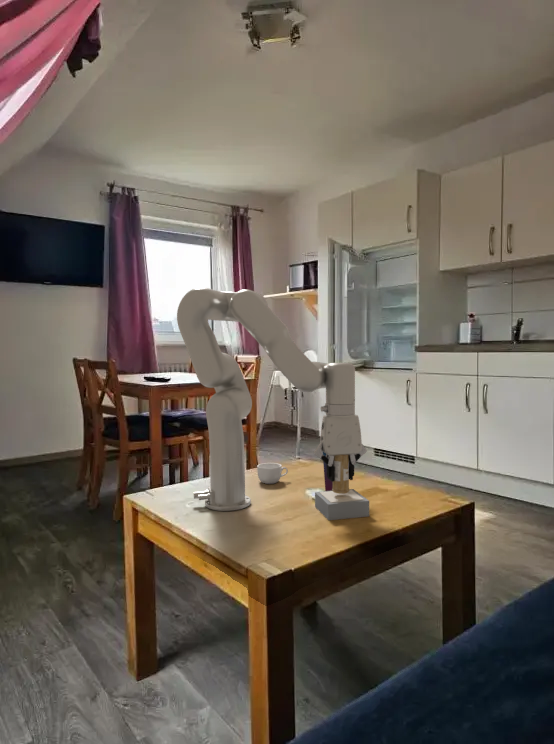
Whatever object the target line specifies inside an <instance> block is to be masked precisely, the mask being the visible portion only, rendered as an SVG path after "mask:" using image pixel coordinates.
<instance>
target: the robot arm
mask: <svg viewBox="0 0 554 744" xmlns="http://www.w3.org/2000/svg"><path fill="white" fill-rule="evenodd" d="M209 321H221V322H222V321H223V322H224V321H225V322H239V324H241V325H242V327H243V328H244V329H245V330H246V331H247V332H248V333H249V334H250V336H251V337H252V338H253V339H255V341H256V342H257V343H258V344H259V346H261V347H262V348H263V350H264V352H265V354H266V355H267V356H268V357H269V359H270V360H271V361H272V362H273V364H274V366H275V367H276V368H277V369H278V370H279V371H280V373H281V374H282V375H283V376H284V377H285V378H286V379H287V381H289V383H290V384H292V386H294V388H296V389H297V390H298V391H301V392H302V393H311V392H314V391H317V390H320V389H325V403H324V405H323V406H320V412H321V413H323V412H324V414H323V418H322V422H321V426H320V428H321V429H320V441H319V444H318V445H317V447H316V448H315V450H314V451H313V455H315V456H316V457H317V458H319V459H320V460H322V462H323V461H324V462H325V464H327V477H328V479H329V480H330V481H332V482H333V481H335V467H334V466H333V460H334V455H348V456H349V481H353V479H354V476H355V465H356V464H357V462H358V461H359V459H360V458H361V457H362V456H363V455H365V454H366V453H367V449H366V448H365V446H364V445H363V443H362V442H363V441H362V431H361V430H362V429H361V425H360V419H359V415H358V414H356V369H355V368H356V367H355V365H354V364H353V363H351V362H329V363H327V362H320V361H311V360H310V359H309V358H308V357H307V356H306V354H305V353H304V352H303V351H302V350H301V349H300V348H299V346H298V345H297V344H296V342H295V341H294V339H293V338H292V335H291V332H290V329H289V328H288V326H287V325H286V323H284V322H283V321H282V320H281V319H280V317H279V316H278V315H277V314H276V313H275V312H274V311H273V310H272V309H271V308H270V307H269V305H268V301H267V299H266V298H265V297H264V296H263V295H262V294H260V293H259V292H258V291H254V290H251V289H241V290H238V291H236V292H235V291H222V290H221V291H219V290H217V289H216V290H215V289H213V288H209V287H195V288H192V289H190V290H189V291H187V293H186V294H185V295H183V297H182V298H181V300H180V302H179V304H178V307H177V311H176V323H177V326H178V329H179V332H180V335H181V337H182V339H183V342H184V345H185V347H186V351H187V353H188V356H189V359H190V361H191V364H192V367H193V369H194V372H195V375H196V377H197V379H198V381H199V383H200V384H201V385H202V386H204V387H205V388H209V389H210V388H211V389H212V388H214V391H215V393H214V394H213V395H211V397H210V398H209V400H208V401H207V403H206V408H205V410H206V411H205V414H206V415H205V416H206V417H205V418H206V422H207V427H208V440H209V441H208V443H209V445H208V446H209V449H208V450H209V475H210V476H209V480H210V481H209V483H210V486H208V487H207V488H208V489H204V491H202V490H201V491H200V490H199V491H198V490H197V491H193V499H198V501H204V506H205V507H206V508H208V509H209V510H212V511H219V512H229V511H238V510H242V509H245V508H248V506H250V505H251V504H252V501H251V500H252V499H251V497H250V496H248V495H246V471H245V467H246V466H245V436H244V435H245V434H244V430H243V429H244V428H243V423H242V420H244V419H245V418H246V417H247V416H248V415H249V414H250V413H251V411H252V407H253V400H252V396H251V393H250V390H249V387H248V386H247V385H248V384H247V383H246V380H245V376H244V375H243V372H242V370H241V367H240V365H239V364H238V362H237V360H236V359H235V358H234V357H233V356H232V355H230V354H228V353H225V352H222V350H221V348H220V345H219V343H218V341H217V337H216V335H215V333H214V331H213V329H212V328H211V326H210V324H209V323H210V322H209ZM323 452H324V453H326V456H324V455H323Z"/></svg>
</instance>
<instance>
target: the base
mask: <svg viewBox="0 0 554 744" xmlns="http://www.w3.org/2000/svg"><path fill="white" fill-rule="evenodd" d="M314 507H315V508H316V509H317V510H318V512H320V514H322V515H323V517H325V519H326V520H328V521H334V520H335V521H336V520H344V519H354V518H355V519H356V518H357V519H358V518H364V517H370V500H369V499H367V498H366V497H364V496H363V495H362V494H361V493H359V492H358V491H356V490H355V488H351V489H350V488H349V492H347V493H344V494H339V493H334V492H333V491H325V490H324V491H315V492H314Z"/></svg>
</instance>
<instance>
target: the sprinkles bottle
mask: <svg viewBox="0 0 554 744" xmlns="http://www.w3.org/2000/svg"><path fill="white" fill-rule="evenodd" d="M333 466H334V467H335V481H333V489H332V491H333V492H334V493H339V494H344V493H347V492H349V489H350V487H349V486H350V482H349V481H350V479H349V456H348V455H334V460H333Z"/></svg>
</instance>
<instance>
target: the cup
mask: <svg viewBox="0 0 554 744" xmlns="http://www.w3.org/2000/svg"><path fill="white" fill-rule="evenodd" d="M322 454H323V455H324V456H326V453H324V452H323V451H322ZM322 462H323V478H324V489H325V490H324V491H332V489H333V482H332V481H330V480H329V479H328V477H327V464H325V462H324V461H323V460H322Z"/></svg>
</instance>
